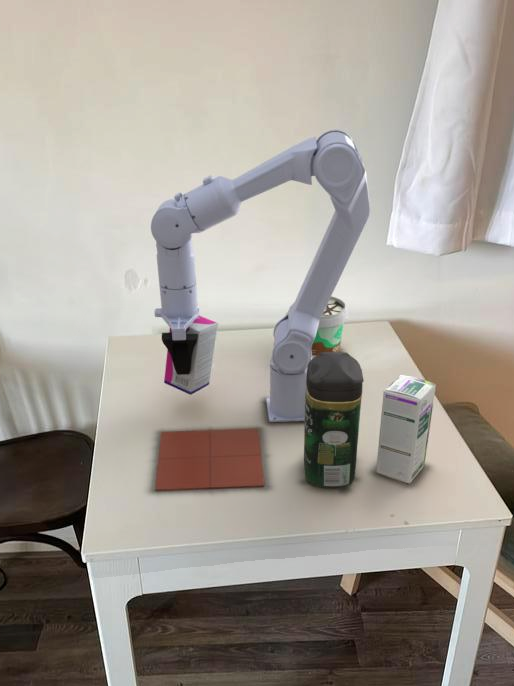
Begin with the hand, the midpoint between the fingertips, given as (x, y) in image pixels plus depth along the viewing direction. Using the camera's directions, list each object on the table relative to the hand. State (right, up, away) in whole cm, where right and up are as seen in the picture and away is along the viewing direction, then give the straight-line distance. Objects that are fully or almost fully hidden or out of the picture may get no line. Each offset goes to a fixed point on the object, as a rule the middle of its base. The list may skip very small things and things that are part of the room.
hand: (184, 362), depth 116 cm
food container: (+26, +5, +23) cm, 36 cm away
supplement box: (0, -3, +2) cm, 4 cm away
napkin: (+5, -16, -7) cm, 19 cm away
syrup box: (+34, -18, -9) cm, 40 cm away
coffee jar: (+23, -19, -10) cm, 32 cm away
